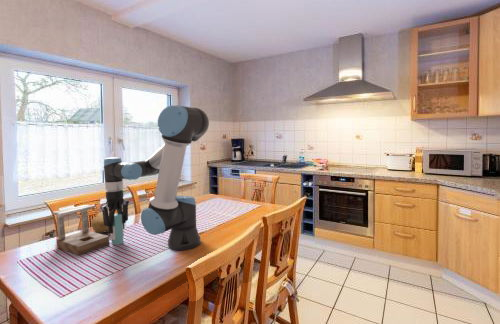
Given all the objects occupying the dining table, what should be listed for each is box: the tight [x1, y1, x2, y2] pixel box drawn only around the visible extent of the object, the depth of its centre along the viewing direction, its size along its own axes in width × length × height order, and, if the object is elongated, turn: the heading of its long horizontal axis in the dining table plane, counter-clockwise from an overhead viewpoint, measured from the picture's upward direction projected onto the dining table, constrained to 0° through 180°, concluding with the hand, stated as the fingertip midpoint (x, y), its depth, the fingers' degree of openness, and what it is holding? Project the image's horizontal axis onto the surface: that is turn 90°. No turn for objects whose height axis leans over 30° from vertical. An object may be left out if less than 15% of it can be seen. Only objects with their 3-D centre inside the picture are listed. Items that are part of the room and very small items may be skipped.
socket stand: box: [52, 204, 110, 256], centre depth 129 cm, size 18×15×17 cm
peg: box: [111, 212, 124, 246], centre depth 132 cm, size 4×4×14 cm
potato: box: [90, 216, 109, 234], centre depth 148 cm, size 10×14×8 cm
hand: (117, 237), depth 133 cm, fingers closed on peg, 4 cm apart
